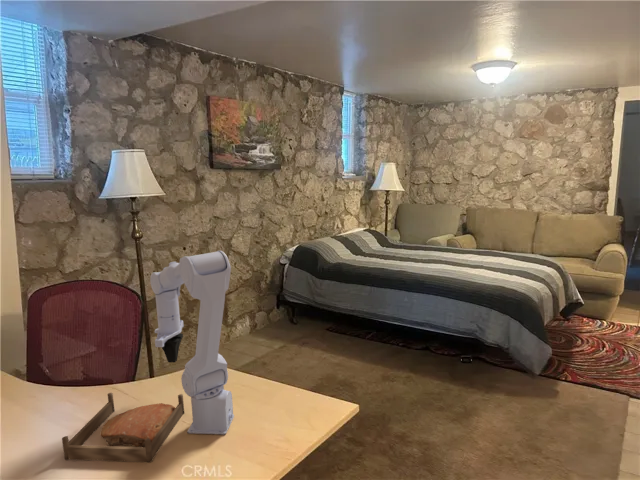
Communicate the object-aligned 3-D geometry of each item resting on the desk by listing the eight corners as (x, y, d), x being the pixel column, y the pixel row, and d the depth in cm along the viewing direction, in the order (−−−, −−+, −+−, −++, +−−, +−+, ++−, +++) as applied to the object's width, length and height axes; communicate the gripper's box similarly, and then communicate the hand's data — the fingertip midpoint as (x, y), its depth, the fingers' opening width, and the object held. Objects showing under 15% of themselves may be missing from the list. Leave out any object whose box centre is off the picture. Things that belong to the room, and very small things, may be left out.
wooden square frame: (185, 411, 119) (183, 394, 118) (151, 462, 100) (149, 442, 99) (111, 410, 121) (109, 392, 120) (63, 459, 101) (60, 439, 100)
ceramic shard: (122, 395, 119) (179, 403, 118) (120, 419, 119) (176, 427, 119) (92, 420, 104) (156, 430, 104) (89, 447, 104) (153, 458, 104)
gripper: (165, 305, 131) (169, 350, 134) (141, 323, 117) (146, 373, 120) (189, 305, 131) (192, 350, 133) (168, 324, 117) (172, 373, 119)
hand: (172, 361), depth 126 cm, fingers closed
